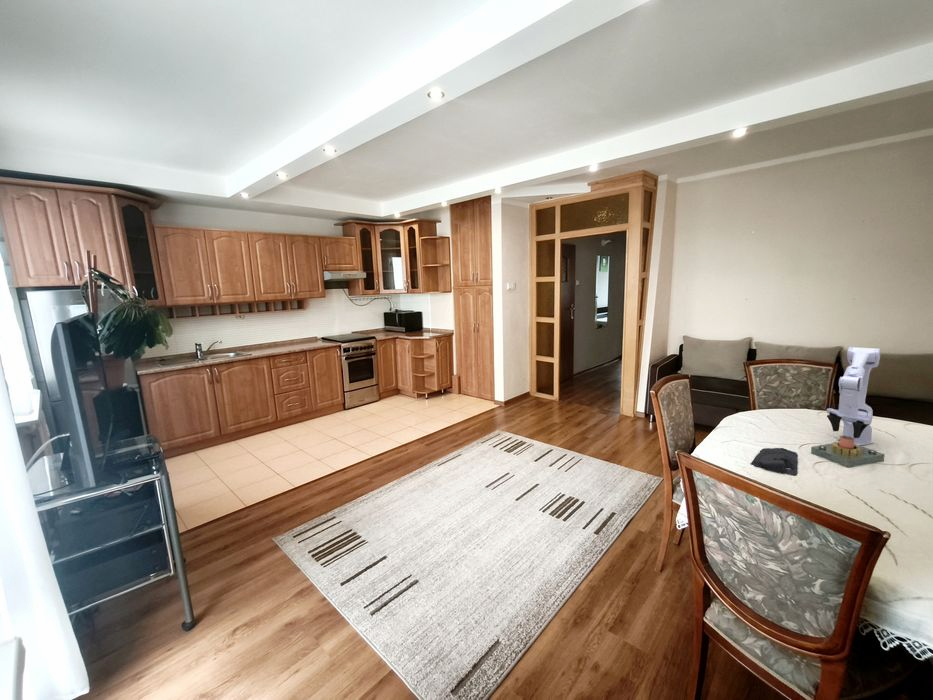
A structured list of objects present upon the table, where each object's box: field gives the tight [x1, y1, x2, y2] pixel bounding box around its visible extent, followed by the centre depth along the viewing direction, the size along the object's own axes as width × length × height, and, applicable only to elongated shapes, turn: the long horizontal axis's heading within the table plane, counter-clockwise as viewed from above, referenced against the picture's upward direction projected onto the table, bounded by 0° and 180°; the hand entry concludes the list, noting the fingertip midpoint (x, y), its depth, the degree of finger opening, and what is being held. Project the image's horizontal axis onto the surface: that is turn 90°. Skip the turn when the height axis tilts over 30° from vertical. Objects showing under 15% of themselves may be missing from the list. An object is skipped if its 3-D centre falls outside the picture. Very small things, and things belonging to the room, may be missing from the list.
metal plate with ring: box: [810, 441, 885, 469], centre depth 158 cm, size 18×14×5 cm
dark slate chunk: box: [750, 447, 799, 476], centre depth 159 cm, size 15×22×5 cm
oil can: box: [838, 434, 854, 449], centre depth 158 cm, size 4×4×8 cm
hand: (845, 434), depth 158 cm, fingers open, 7 cm apart
